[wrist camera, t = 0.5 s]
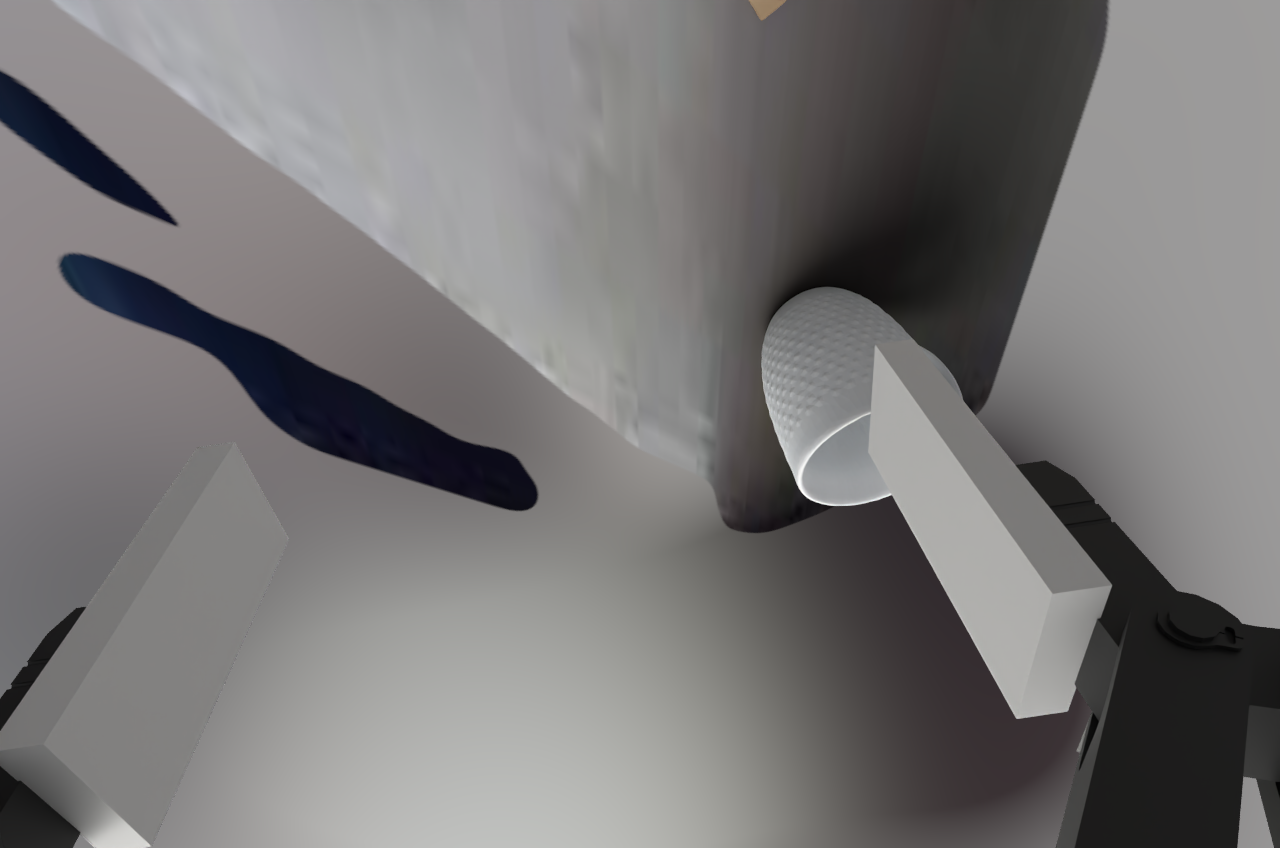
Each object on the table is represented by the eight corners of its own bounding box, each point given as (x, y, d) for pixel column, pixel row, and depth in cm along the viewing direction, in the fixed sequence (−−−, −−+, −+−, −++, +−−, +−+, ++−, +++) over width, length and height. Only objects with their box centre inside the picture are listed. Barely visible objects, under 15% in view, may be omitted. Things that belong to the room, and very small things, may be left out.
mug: (952, 271, 54) (1049, 404, 46) (879, 375, 62) (951, 504, 54) (772, 254, 49) (845, 398, 41) (718, 369, 57) (770, 509, 49)
